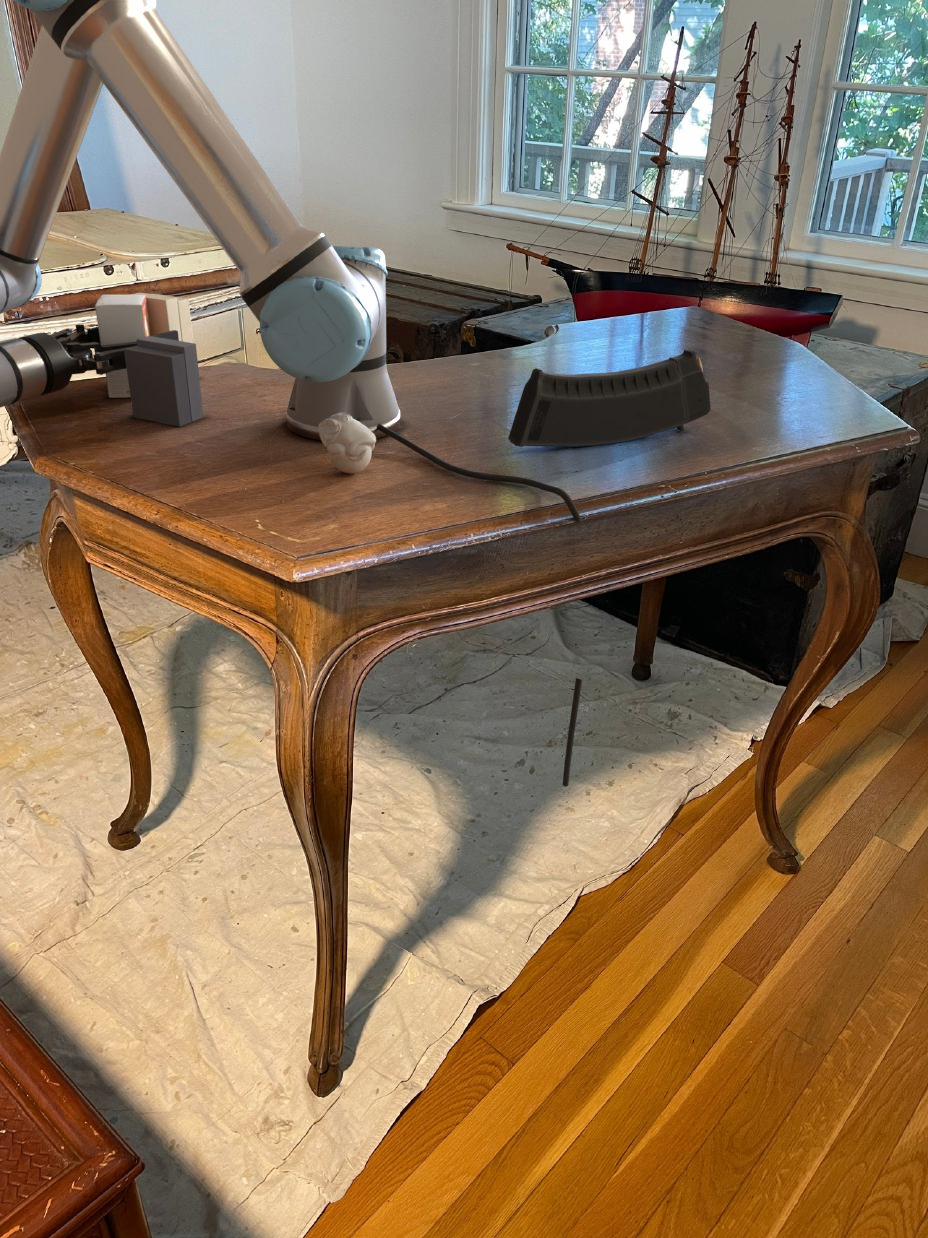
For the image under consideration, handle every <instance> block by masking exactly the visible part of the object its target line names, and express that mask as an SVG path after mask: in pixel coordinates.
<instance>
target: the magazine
mask: <svg viewBox="0 0 928 1238" xmlns="http://www.w3.org/2000/svg"><path fill="white" fill-rule="evenodd" d="M711 409H712V406H711V393H710V383H709V382H708V381H707V380H706V378H705V374H704V370H703V365H702V361H701V358H700V356H697V353H696V351H695V350H692V349H689V348H686V349H684V350H683V352H682V353H681V354H679V355H676V356H670V357H668V358H667V359H665V360H660V361H657V362H654V363H652V364H651V363H650V364H648V365H643V366H640V367H634V368H630V369H624V370H617V371H610V372H597V373H596V372H595V373H594V372H593V373H576V374H569V373H568V374H565V373H553V372H547V371H543V370H542V369H541V368H538V367H535V368H533V369H532V371H531V374H530V376H529V379H528V380H527V382H526V383H525V384H524V387H523V390H522V393H521V396H520V399H519V402H518V405H517V409H516V411H515V415H514V418H513V421H512V424H511V428H510V430H509V434H508V437H507V438H508V441H509V442H510V443H511V444H512V445H514V446H516V447H520V448H523V447H557V448H558V447H559V448H561V447H562V448H573V447H574V448H577V447H578V448H579V447H597V446H604V445H606V446H607V445H613V444H620V443H625V442H631V441H635V440H640V439H644V438H647V437H651V436H653V435H657V434H659V433H663V432H667V431H669V430H673V429H677V430H678V431H681V432H684V431H685V427H684V426H685V425H686V424H689V423H691V422H693V421H696V420H698V419H700V418H702V417H704V416H707V415H709V413H710V412H711Z"/></svg>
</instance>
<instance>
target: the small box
mask: <svg viewBox="0 0 928 1238" xmlns="http://www.w3.org/2000/svg"><path fill="white" fill-rule="evenodd" d="M94 308H95V315H96V321H97V327H98V329H99V335H100V342H101V345H109V344H119V343H128V342H137V340H136V339H139V338H143V337H147V336H151V334H150V325H149V317H148V309H147V301H146V295H131V294H102V295H101V296H100V297H99V298H98V299H97V301H96V303H95V305H94ZM105 380H106V386H107V394H108V398H109V399H111V398H112V399H116V398H117V399H119V398H121V399H122V398H131V396H130V389H129V382H128V375H127V368H126V369H121V370H116V371H112V372H109V373H106V374H105Z"/></svg>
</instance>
